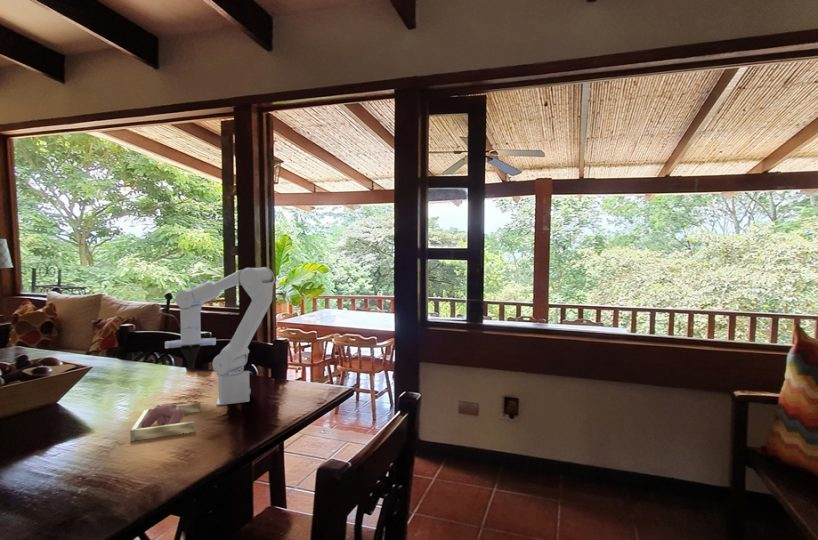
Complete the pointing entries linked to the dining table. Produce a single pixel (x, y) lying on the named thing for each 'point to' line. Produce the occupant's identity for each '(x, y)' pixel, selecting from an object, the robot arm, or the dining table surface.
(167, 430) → the bay
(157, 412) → the video game controller
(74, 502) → the dining table surface
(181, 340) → the robot arm
